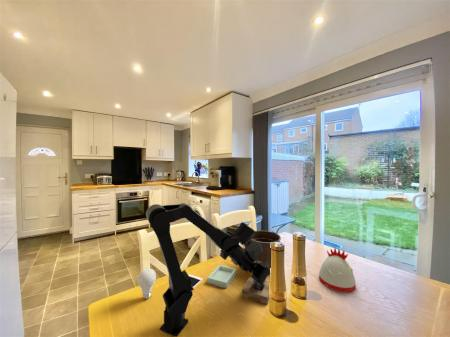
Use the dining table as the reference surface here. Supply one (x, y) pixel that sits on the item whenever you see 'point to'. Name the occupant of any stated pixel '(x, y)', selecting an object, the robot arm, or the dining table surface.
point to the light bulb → (146, 281)
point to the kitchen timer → (337, 272)
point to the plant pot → (265, 245)
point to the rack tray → (222, 276)
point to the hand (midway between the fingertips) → (260, 275)
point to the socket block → (256, 291)
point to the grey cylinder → (256, 284)
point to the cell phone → (195, 280)
